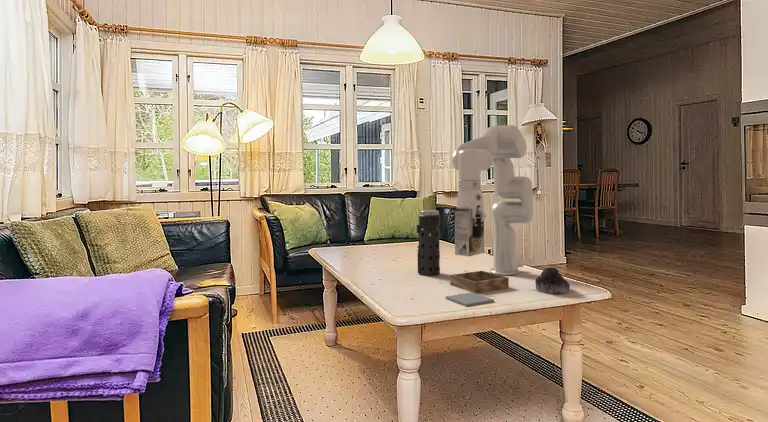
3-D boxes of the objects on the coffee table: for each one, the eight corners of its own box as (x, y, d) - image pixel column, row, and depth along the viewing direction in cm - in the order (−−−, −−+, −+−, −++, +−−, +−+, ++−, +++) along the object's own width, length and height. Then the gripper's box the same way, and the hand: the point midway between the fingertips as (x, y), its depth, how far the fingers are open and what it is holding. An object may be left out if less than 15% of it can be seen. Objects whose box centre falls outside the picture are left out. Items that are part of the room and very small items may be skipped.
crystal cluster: (554, 286, 199) (552, 261, 199) (580, 291, 186) (577, 264, 186) (527, 293, 194) (524, 267, 194) (551, 298, 182) (548, 270, 181)
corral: (482, 280, 209) (482, 270, 209) (508, 288, 195) (508, 277, 194) (450, 284, 202) (450, 274, 201) (475, 293, 187) (475, 282, 187)
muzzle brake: (417, 276, 218) (441, 276, 218) (417, 211, 216) (441, 211, 216) (416, 271, 228) (439, 271, 228) (415, 209, 225) (439, 209, 225)
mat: (472, 294, 186) (472, 292, 186) (494, 301, 175) (494, 299, 175) (445, 298, 180) (445, 296, 180) (465, 306, 169) (465, 304, 169)
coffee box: (469, 251, 182) (469, 206, 180) (484, 253, 177) (484, 207, 176) (453, 254, 175) (453, 208, 174) (469, 256, 171) (469, 209, 169)
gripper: (494, 185, 168) (494, 238, 170) (463, 184, 184) (463, 232, 185) (476, 186, 165) (476, 239, 166) (446, 185, 180) (446, 234, 182)
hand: (469, 235), depth 176 cm, fingers closed on coffee box, 7 cm apart
